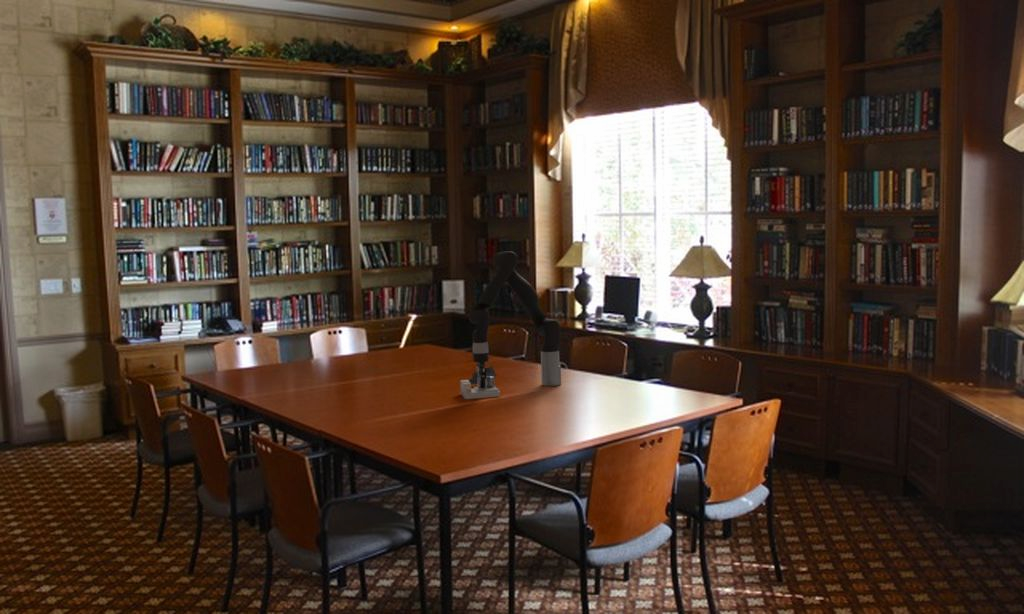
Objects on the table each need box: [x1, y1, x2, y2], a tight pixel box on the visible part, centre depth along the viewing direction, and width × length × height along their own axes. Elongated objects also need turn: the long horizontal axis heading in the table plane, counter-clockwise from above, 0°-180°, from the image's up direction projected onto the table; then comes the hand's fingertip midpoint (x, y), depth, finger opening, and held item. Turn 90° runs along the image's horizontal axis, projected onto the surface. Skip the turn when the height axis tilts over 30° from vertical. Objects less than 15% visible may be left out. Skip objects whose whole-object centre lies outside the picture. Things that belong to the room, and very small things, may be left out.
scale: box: [460, 379, 501, 400], centre depth 434 cm, size 17×13×7 cm
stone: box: [468, 365, 498, 385], centre depth 458 cm, size 14×6×10 cm, turn 117°
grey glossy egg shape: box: [486, 376, 496, 388], centre depth 438 cm, size 4×4×5 cm
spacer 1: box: [476, 377, 487, 389], centre depth 431 cm, size 4×4×5 cm
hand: (482, 386), depth 431 cm, fingers closed on spacer 1, 4 cm apart
